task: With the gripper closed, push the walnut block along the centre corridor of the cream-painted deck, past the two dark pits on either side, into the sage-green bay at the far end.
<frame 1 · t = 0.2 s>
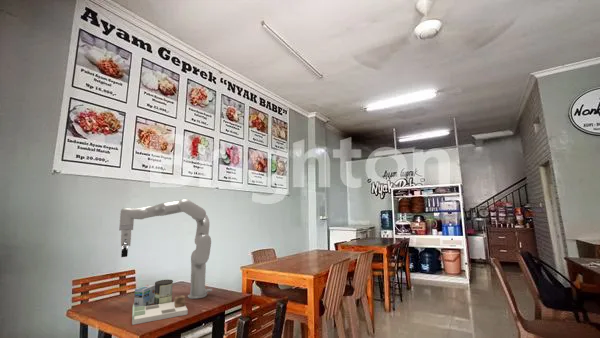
hand: (124, 255, 175), 31 cm above the table, fingers open, 9 cm apart
deck: (159, 313, 161), on the table
light bulb box: (144, 305, 177), on the table
walnut block: (179, 305, 166), point 2 cm above the table, touching deck
coffee can: (162, 305, 176), on the table
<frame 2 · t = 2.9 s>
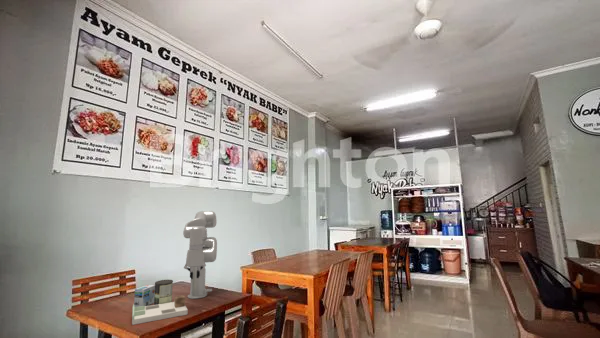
hand: (194, 278, 173), 17 cm above the table, fingers closed
nothing on the table moved.
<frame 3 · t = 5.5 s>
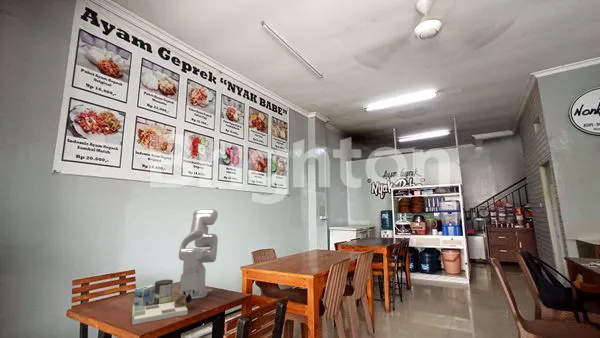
hand: (188, 302, 169), 3 cm above the table, fingers closed
walnut block: (179, 305, 166), point 2 cm above the table, touching deck, gripper
everything else where it was.
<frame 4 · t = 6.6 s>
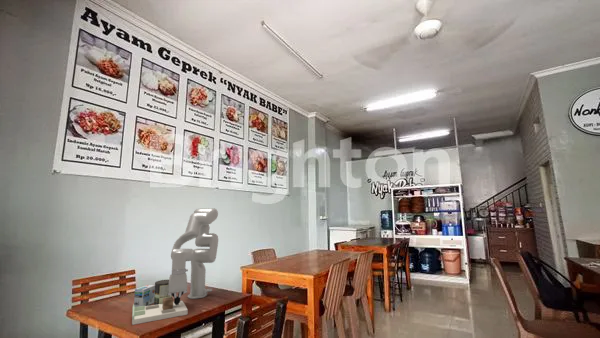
hand: (176, 304, 166), 4 cm above the table, fingers closed
walnut block: (167, 308, 163), point 3 cm above the table, touching deck, gripper
everything else where it was.
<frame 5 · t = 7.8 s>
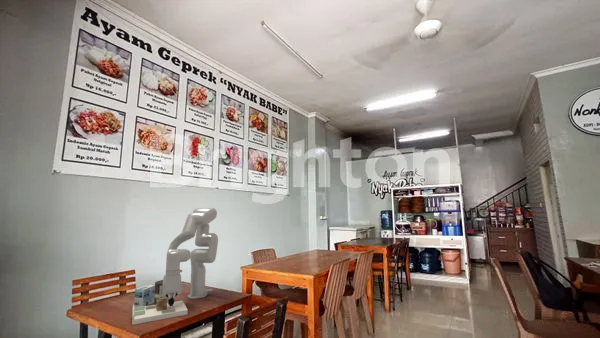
hand: (171, 305, 164), 4 cm above the table, fingers closed
walnut block: (161, 309, 161), point 3 cm above the table, touching gripper
everything else where it was.
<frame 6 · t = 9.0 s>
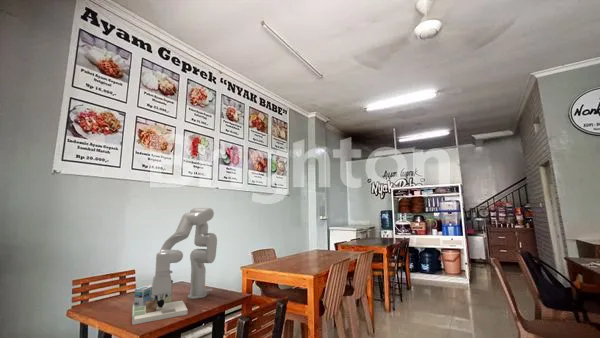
hand: (160, 307, 161), 4 cm above the table, fingers closed
walnut block: (150, 311, 158), point 3 cm above the table, touching gripper
everything else where it was.
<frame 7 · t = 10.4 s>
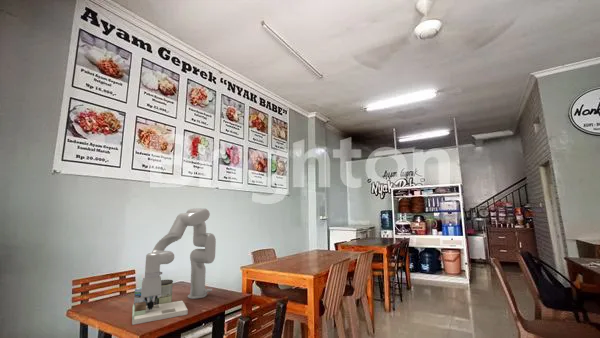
hand: (150, 308, 159), 3 cm above the table, fingers closed
walnut block: (140, 312, 156), point 2 cm above the table, touching deck, gripper
everything else where it was.
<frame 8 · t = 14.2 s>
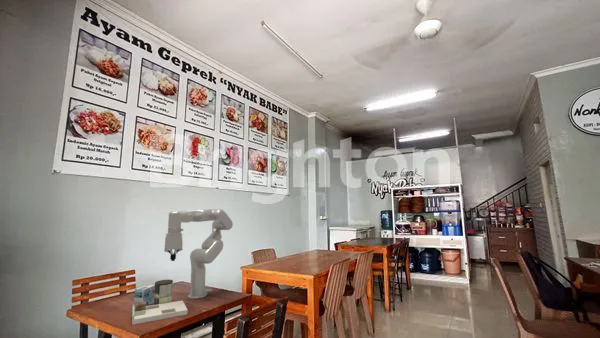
hand: (172, 260, 178), 27 cm above the table, fingers closed
walnut block: (140, 312, 156), point 2 cm above the table, touching deck
everything else where it was.
at the end: walnut block 0.8 cm from the target spot on the deck, point 2.5 cm above the deck's base; walnut block tilted 0° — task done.
